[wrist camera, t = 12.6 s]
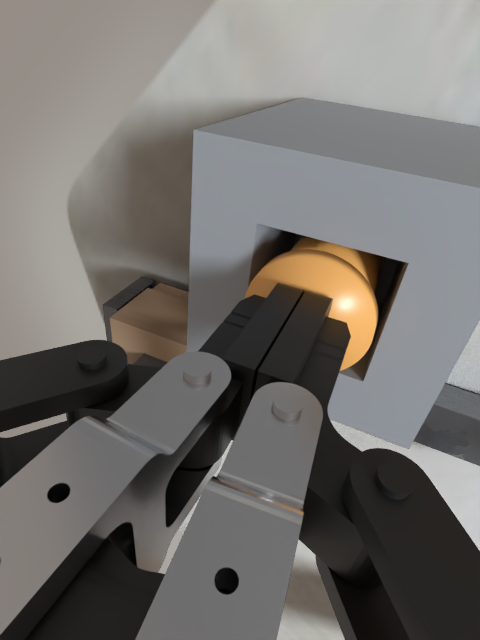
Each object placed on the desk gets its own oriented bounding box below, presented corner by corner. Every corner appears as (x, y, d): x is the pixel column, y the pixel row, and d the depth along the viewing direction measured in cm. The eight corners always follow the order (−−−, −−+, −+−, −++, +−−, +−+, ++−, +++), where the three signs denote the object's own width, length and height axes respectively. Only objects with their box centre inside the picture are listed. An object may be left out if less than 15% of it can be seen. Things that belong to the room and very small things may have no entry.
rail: (536, 405, 21) (551, 466, 18) (499, 453, 23) (507, 514, 20) (141, 276, 27) (102, 304, 24) (144, 324, 30) (108, 355, 27)
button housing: (498, 129, 16) (544, 200, 8) (419, 311, 21) (402, 461, 13) (302, 97, 18) (193, 130, 10) (273, 268, 23) (185, 375, 15)
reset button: (411, 211, 14) (394, 281, 9) (379, 300, 16) (353, 390, 12) (308, 187, 15) (251, 241, 10) (291, 274, 17) (238, 349, 12)
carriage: (263, 312, 24) (145, 475, 14) (251, 385, 27) (150, 555, 18) (159, 278, 25) (-2, 404, 16) (161, 351, 29) (28, 488, 20)
